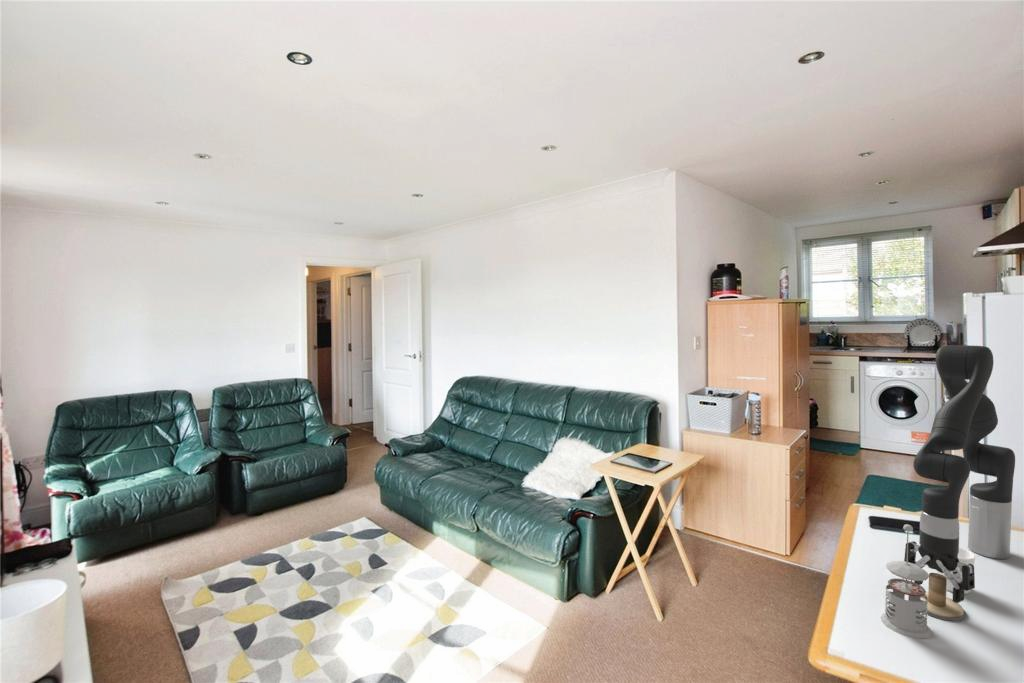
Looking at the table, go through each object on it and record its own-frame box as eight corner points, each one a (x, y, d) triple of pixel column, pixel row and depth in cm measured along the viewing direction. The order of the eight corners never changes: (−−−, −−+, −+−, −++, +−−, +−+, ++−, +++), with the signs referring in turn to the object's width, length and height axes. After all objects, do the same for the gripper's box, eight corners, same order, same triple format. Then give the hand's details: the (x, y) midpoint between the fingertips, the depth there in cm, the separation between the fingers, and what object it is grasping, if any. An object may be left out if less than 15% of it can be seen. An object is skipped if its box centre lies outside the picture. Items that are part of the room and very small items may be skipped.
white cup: (981, 597, 129) (982, 560, 129) (946, 594, 131) (947, 558, 130) (960, 580, 137) (961, 545, 136) (928, 578, 139) (929, 543, 138)
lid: (927, 591, 132) (928, 562, 131) (973, 612, 123) (974, 582, 122) (902, 599, 129) (903, 570, 128) (946, 622, 119) (947, 591, 119)
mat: (926, 591, 133) (926, 589, 133) (976, 614, 122) (976, 613, 122) (899, 600, 129) (899, 598, 129) (947, 625, 119) (947, 623, 119)
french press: (878, 627, 119) (881, 526, 117) (882, 604, 128) (884, 510, 126) (932, 644, 113) (935, 538, 111) (931, 618, 121) (934, 520, 120)
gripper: (983, 540, 119) (980, 605, 120) (917, 517, 132) (916, 575, 133) (963, 546, 116) (960, 612, 117) (898, 522, 130) (897, 581, 131)
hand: (937, 592), depth 125 cm, fingers open, 8 cm apart
